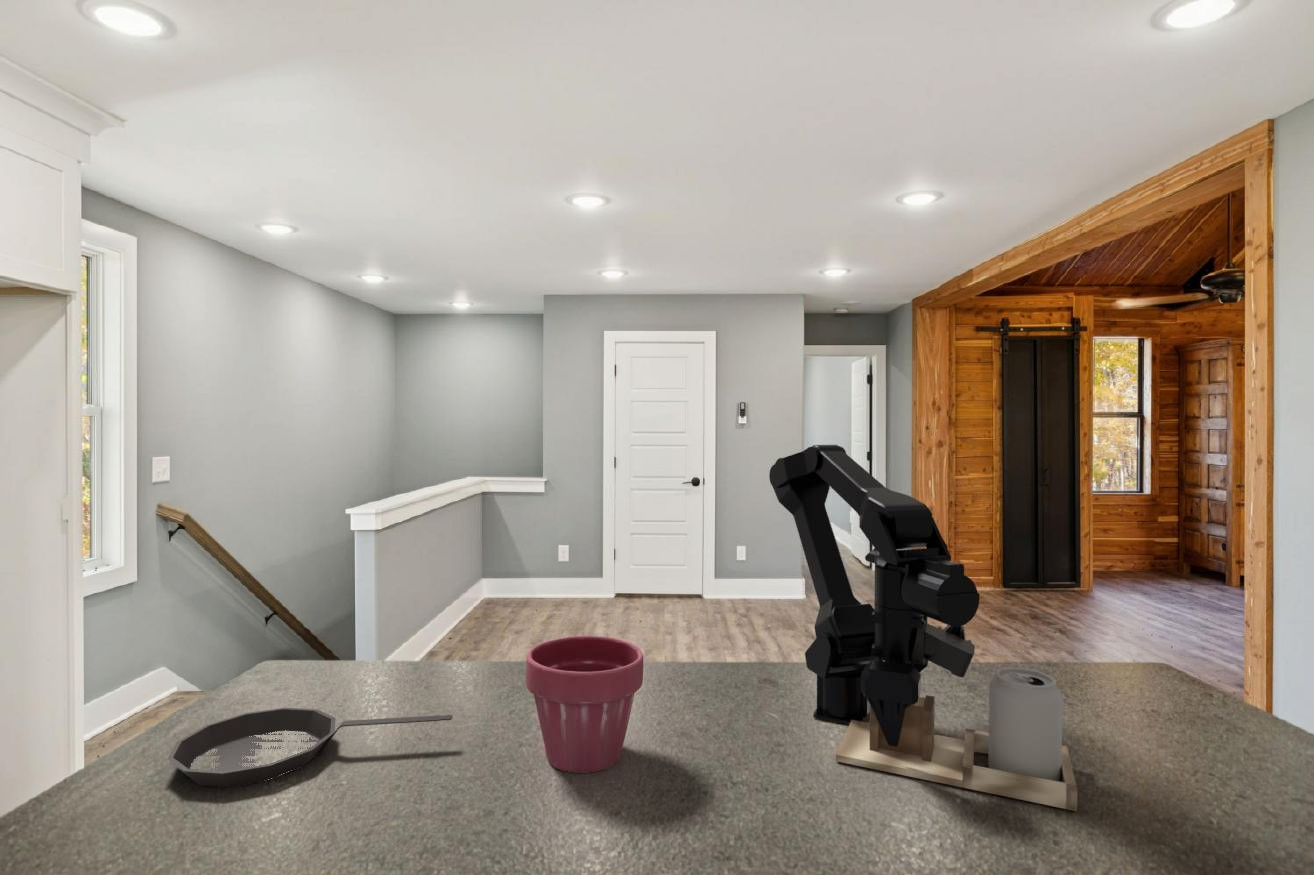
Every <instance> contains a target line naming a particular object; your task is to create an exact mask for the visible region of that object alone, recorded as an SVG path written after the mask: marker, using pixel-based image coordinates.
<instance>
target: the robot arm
mask: <svg viewBox="0 0 1314 875" xmlns="http://www.w3.org/2000/svg"><path fill="white" fill-rule="evenodd" d="M768 476H769V477H768V478H769V482H770V485H771V486H772V489H773V491H774V493H775V495H776V498H777V502H779V504H780V505H782V507H783V508H785V509H786V511H788V512H789V513H790V514H791V515H792V516H793V519H794V522H795V526H796V530H797V532H798V533H797V534H798V536H799V540H800V542H801V546H802V551H803V553H804V555H805V561H806V563H807V567H808V570H809V574H810V576H811V580H812V583H813V587H814V590H815V594H816V597H817V600H818V603H819V604H818V605H819V609H818V613H817V616H816V620H815V622H814V626H813V628H814V632H815V639H814V641H813V642H812V643H811V644H810V646H809V647H808V648H807V650H805V652H804V656H805V662H806V668H807V669H808V670H810V672H813V673H814V674H816V709H815V711H813V718H814V719H817V720H824V721H829V722H834V723H840V724H846V725H850V723H851V720H856V721H862V722H865V719H867V718H868V716H869V715H870V706H871V708H872V710H873V712H874V714H875V716H876V718H877V721H878V723H879V725H880V727H881V730H882V732H883V734H884V737H885V739H886V741H887V744H888V745H889V746H894V747H897V746H898V743H899V739H900V734H901V729H902V724H903V719H904V715H905V710H906V708H908V707H909V706H911V705H913V704H916V703H917V702H918V700H919V697H921V696H920V695H921V686H922V674H921V672H922V671H923V670H925V669H926V668H927V667H928V665H929V662H930V663H932V664H934V665H937V666H939V667H940V668H943V669H945V670H947V671H949V672H950V673H951V675H954V676H956V677H959V678H965V676H966V674H967V671H968V669H969V667H970V664H971V662H972V660H973V657H974V655H975V649H976V648H975V646H976V645H974V644H973V643H972V639H971V640H970V639H968V640H967V638H966V632H965V630H966V629H965V625H966V624H968V623H969V622H970V621H972V619H973V618H975V615H977V614H976V613H977V612H978V609H979V606H980V600H981V598H980V593H979V592H978V589H977V586H976V584H975V582H974V581H973V580H972V578H970V577H968V576H967V575H965V565H964V564H963V563H961V562H955V561H952V556H951V554H950V552H949V550H948V547H949V546H948V545H947V543H946V542H945V540H944V538H943V536H942V534H941V532H940V530H939V527H938V525H937V524H936V521H935V519H934V517H933V513H932V511H931V509H930V508H929V507H928V506H927V505H926V504H925V503H923V502H922V501H920V500H918V499H916V498H914V497H912V496H910V495H908V494H905V493H902V492H898V491H894V490H892V489H889V488H887V487H886V486H884V485H883V483H881V482H879V480H877V479H876V477H874V476H873V475H872V474H871V473H869V472H868V471H867V470H866V469H864V467H862V466H861V465H860V464H859V463H857V461H855V460H854V459H853V458H852V457H850V456H849V455H848V454H847V452H846V449H845V448H844V447H843V446H839V445H838V444H813V445H811V446H809V447H806V449H804V450H803V451H799V452H796V453H794V454H791V455H788V456H785V457H779V458H778V459H777V460H776V461H775V463H774V464H773V465H772V466H771V467H770V470H769V475H768ZM830 489H832V490H833V491H834V492H835V493H837V495H838V496H839V497H840V498H841V499H842V500H844V502H845V503H847V505H848V506H850V507H851V508H852V510H854V511H855V513H856V514H857V515H858V517H859V524H858V526H859V529H860V530H861V532H862V533H863V534H864V536H865V537H866V539H867V540H868V542H869V543H870V544H871V546H873V549H872V550H871V551H869V552H868V553H867V554H866V555H865V557H864V559H865V561H866V562H870V563H872V564H874V600H873V601H874V605H873V606H874V607H873V606H872V604H870V603H862V602H860V601H859V600H858V599H857V598H856V597H855V595H854V593H853V590H852V586H851V584H850V580H849V578H848V575H847V574H848V573H847V570H846V568H845V564H844V561H843V558H842V556H841V552H840V549H839V546H838V543H837V539H836V537H835V534H834V529H833V528H832V524H831V521H830V517H829V514H828V512H827V509H826V502H827V498H828V495H829V492H830ZM951 561H952V562H951ZM928 618H930V619H932V620H935V621H936V622H940V623H942V624H945V625H946V626H945V627H943V628H942V626H940V625H938V627H936V626H935V625H932V624H930V623H928V620H929V619H928Z"/></svg>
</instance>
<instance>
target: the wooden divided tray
mask: <svg viewBox="0 0 1314 875" xmlns="http://www.w3.org/2000/svg"><path fill="white" fill-rule="evenodd" d="M935 704H936V701H935V696H932V695H928V694H926V695H925V697H921V696H919V700H918V702H917V703H916V704H913V705H911V706H909V707H908V708H906V710H905V715H904V719H903V724H902V729H901V734H900V739H899V743H898V746H897V747H894V746H889V745H888V744H887V741H886V739H885V737H884V734H883V732H882V730H881V727H880V725H879V723H878V721H877V718H876V716H875V714H874V712H873V710H872V708H871V706H870V711H869V722H866V721H863V722H862V721H856V720H851V723H850V724H848V727H847V729H846V731H845V733H844V735H843V738H842V739H841V742H840V744H839V746H838V748H837V750H836V752H835V761H836V762H839V763H844V764H847V765H852V766H857V767H863V768H867V769H872V770H876V771H881V772H882V771H883V772H887V773H891V774H896V775H901V776H905V777H911V778H915V779H920V780H924V781H929V782H934V783H939V784H944V785H950V786H954V787H958V788H964V789H969V790H972V791H978V792H983V793H988V794H992V795H997V796H1002V797H1007V798H1011V799H1016V800H1021V801H1026V802H1031V803H1034V804H1042V805H1045V806H1048V807H1055V808H1059V809H1064V810H1068V811H1074V812H1078V787H1077V786H1078V785H1077V782H1076V779H1075V776H1074V775H1075V774H1074V770H1073V765H1072V763H1071V762H1072V761H1071V758H1070V754H1069V750H1068V749H1069V748H1068V746H1067V745H1063V744H1062V778H1061V781H1060V782H1058V781H1053V780H1047V779H1042V778H1037V777H1032V776H1027V775H1022V774H1016V773H1011V772H1006V771H1001V770H996V769H991V768H989V767H984V766H981V765H980V766H979V765H975V764H974V762H975V753H981V754H984V755H989V731H988V732H987V731H982V730H978V729H970V728H965V733H964V734H965V736H964V739H962V738H957V737H956V738H955V737H950V736H949V737H948V736H944V735H939V734H935Z"/></svg>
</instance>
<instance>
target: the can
mask: <svg viewBox="0 0 1314 875" xmlns="http://www.w3.org/2000/svg"><path fill="white" fill-rule="evenodd" d="M994 673H995V676H996V677H995V678H993V679H992V680H991V681H990V682H989V684H988V685H989V686H988V689H989V692H988V701H989V702H988V732H989V754H988V765H987V767H988V768H991V769H996V770H1001V771H1006V772H1011V773H1016V774H1022V775H1027V776H1032V777H1037V778H1042V779H1047V780H1053V781H1058V782H1061V778H1062V745H1063V708H1064V707H1063V705H1064V704H1063V702H1064V701H1063V692H1061V691H1060V689H1059V688H1058V687H1057V686H1056V685H1057V680H1056V679H1055V678H1054V677H1053V676H1051V675H1049V674H1047V673H1045V672H1042V671H1039V670H1034V669H1031V668H1025V667H1013V666H1012V667H1011V666H1010V667H1001V668H998V669H997V670H996V671H995V672H994Z"/></svg>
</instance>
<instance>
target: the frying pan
mask: <svg viewBox="0 0 1314 875" xmlns="http://www.w3.org/2000/svg"><path fill="white" fill-rule="evenodd" d="M336 719H337V718H336V717H334V716H332V715H329V713H326V712H323V711H322V710H320V709H318V708H317V709H316V708H301V707H300V708H299V707H279V708H273V709H265V710H256V711H250V712H244V713H242V714H237V715H234V716H231V717H228V718H225V719H221V720H219V721H215V722H212V723H209V724H206V725H204V726H202V727H201V728H199V729H197V730H195V731H193V732H192V733H189V734H188V735H186V736H184V737H182V738H181V739H179V740H177V741H176V742H175V744H174V746H173V748H172V749H171V751H170V753H169V755H168V757H167V760H168V761H169V762H170V763H171V764H172V765H174V766H175V767H176V768H177V769H178V770H179V771H181V773H183V774H184V775H185V774H186V777H188V778H189V777H190V778H189V779H191V780H192V781H193V780H194V781H193V782H195V784H197V783H198V785H199V784H200V785H199V786H204V785H214V786H213V787H219V786H223V788H234V787H239V785H240V786H244V785H245V784H246V785H251V783H252V784H256V783H255V782H257V783H260V782H259V781H263V782H265V781H264V780H268V779H271V778H273V779H275V778H274V777H276V778H278V777H277V776H279V775H281V774H283V773H286V772H288V771H291V770H294V769H296V770H298V769H297V768H299V767H301V768H302V767H304V766H305V765H306V764H308V763H309V762H310V761H311V760H313V759H314V758H315V757H317V756H318V755H319V754H320V755H321V753H323V751H325V750H324V749H325V748H326V747H327V746H328V744H329V743H330V742H331V740H332V739H333V737H334V736H335V735H336V733H338V731H339V730H340V729H341V728H344V727H358V726H372V725H373V726H375V725H391V724H395V725H396V724H410V723H425V722H427V723H428V722H440V721H451V720H453V715H452V714H446V715H443V714H442V715H424V716H410V717H409V716H405V717H390V718H389V717H388V718H387V717H386V718H373V719H372V718H371V719H369V718H368V719H351V720H344V721H342V722H341V723H339V724H340V725H339V726H338V727H337V729H336ZM285 730H286V731H291V732H292V731H293V732H294V731H295V732H297V731H298V732H301V733H302V732H303V733H304V732H306V733H307V734H306V735H310V736H311V737H312V739H313V738H314V739H315V740H314V739H313V740H312V739H311V737H310V738H309V741H308V740H307V741H305V742H317V743H316V744H315V745H314V746H312V747H309V748H308V747H307V749H308V750H305V751H303V752H300V753H297V754H294V755H292V756H289V757H286V758H284V759H281V760H278V761H276V762H273V763H270V764H265V765H259V766H255V765H254V764H253V765H254V766H253V765H252V764H251V765H252V766H253V767H252V766H251V767H250V766H249V767H248V766H246V767H245V766H244V765H245V764H244V763H256V762H254V761H255V760H254V759H252V761H251V759H250V761H248V760H249V759H248V758H246V757H245V756H255V749H262V746H261V745H259V743H258V745H256V744H257V743H254V742H284V741H282V739H281V740H280V739H279V740H278V739H277V740H273V739H272V740H270V741H269V739H268V740H267V741H266V739H265V740H264V739H263V740H262V738H261V737H260V738H259V737H258V738H257V737H256V736H254V735H263V734H264V735H270V734H268V733H270V732H271V733H272V732H275V731H276V732H277V731H285ZM266 733H267V734H266ZM271 735H277V734H275V733H274V734H271ZM278 735H282V733H281V734H280V733H279V734H278ZM288 735H289V734H288ZM295 735H296V734H295ZM301 735H302V734H301ZM303 735H304V734H303ZM249 736H250V737H249ZM251 736H252V737H251ZM275 739H276V738H275ZM252 742H253V743H252ZM288 742H289V741H288ZM294 742H295V741H294ZM296 742H297V741H296ZM301 742H302V740H301ZM303 742H304V740H303ZM310 746H311V745H310ZM260 747H261V748H260ZM278 747H279V746H278ZM278 747H277V749H278ZM280 747H281V746H280ZM280 747H279V749H281V748H280ZM271 748H272V746H271ZM271 748H270V749H271ZM273 748H274V746H273ZM273 748H272V749H273ZM282 748H283V747H282ZM212 749H218V750H217V752H216V750H215V752H216V754H215V752H214V753H213V752H212V753H213V755H212V753H211V755H210V756H220V757H219V758H218V757H217V758H218V760H217V758H216V760H217V761H216V760H215V763H220V764H218V766H217V767H216V766H215V769H214V768H213V769H214V770H215V771H214V770H213V769H212V768H211V769H210V770H198V769H190V767H191V763H193V761H194V759H196V757H198V756H203V755H205V753H206V752H208V751H209V750H212ZM251 749H252V750H253V749H254V750H253V751H252V750H251ZM264 749H265V748H264ZM266 749H267V748H266ZM268 749H269V748H268ZM274 749H276V746H275V748H274ZM298 749H299V748H298ZM300 749H301V748H300ZM302 749H303V748H302ZM250 750H251V751H250ZM210 752H211V751H210ZM251 752H252V753H251ZM318 753H319V754H318ZM209 754H210V753H209ZM317 754H318V755H317ZM256 755H257V754H256ZM206 756H207V755H206ZM208 756H209V755H208ZM242 756H243V758H244V757H245V758H246V759H245V758H244V759H243V758H242ZM314 756H315V757H314ZM313 757H314V758H313ZM312 758H313V759H312ZM242 759H243V760H242ZM309 760H310V761H309ZM213 761H214V760H213ZM308 761H309V762H308ZM209 763H210V762H209ZM211 763H212V762H211ZM213 763H214V762H213ZM239 763H240V764H239ZM242 763H243V764H244V765H243V764H242ZM257 763H258V762H257ZM305 763H306V764H305ZM241 764H242V765H243V766H244V767H243V766H242V765H241ZM304 764H305V765H304ZM219 765H220V766H219ZM246 765H247V764H246ZM303 765H304V766H303ZM216 768H217V769H216ZM299 769H300V768H299ZM294 771H295V770H294ZM291 772H292V771H291ZM286 774H287V773H286ZM281 776H282V775H281ZM279 777H280V776H279ZM271 780H272V779H271ZM268 781H269V780H268ZM224 786H225V787H224ZM233 786H234V787H233Z"/></svg>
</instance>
